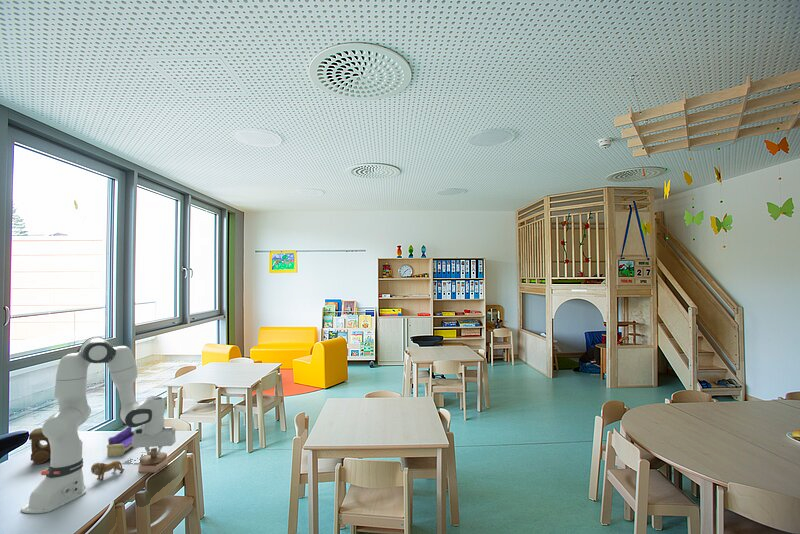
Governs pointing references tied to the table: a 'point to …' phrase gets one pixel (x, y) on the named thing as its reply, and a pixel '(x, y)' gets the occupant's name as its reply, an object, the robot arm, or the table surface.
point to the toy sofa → (120, 442)
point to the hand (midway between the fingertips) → (153, 454)
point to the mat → (134, 460)
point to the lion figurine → (105, 468)
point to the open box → (152, 466)
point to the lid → (153, 457)
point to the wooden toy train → (39, 447)
